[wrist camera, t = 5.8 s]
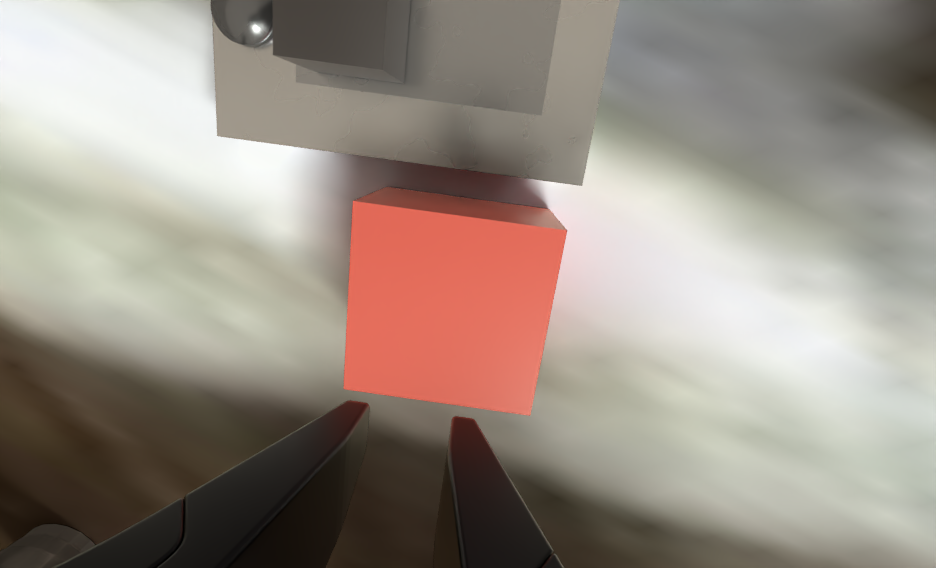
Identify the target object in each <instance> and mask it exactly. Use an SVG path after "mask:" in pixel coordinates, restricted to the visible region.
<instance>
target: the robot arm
mask: <svg viewBox="0 0 936 568" xmlns="http://www.w3.org/2000/svg"><path fill="white" fill-rule="evenodd" d="M369 413H370V407H369V405H368V404H367V403H363V402H357V401H346V402H344V403H342V404H340V405H339V406H337V407H335V408H334V409H332V410H330V411H329V412H327V413H325V414H323V415H322V416H320V417H318V418H317V419H315V420H313V421H311V422H310V423H308V424H306V425H305V426H303V427H301V428H299V429H298V430H296V431H294V432H293V433H291V434H289V435H288V436H286V437H284V438H282V439H281V440H279V441H277V442H276V443H274V444H272V445H270V446H269V447H267V448H265V449H264V450H262V451H260V452H258V453H257V454H255V455H253V456H252V457H250V458H248V459H247V460H245V461H243V462H241V463H240V464H238V465H236V466H235V467H233V468H231V469H229V470H228V471H226V472H224V473H223V474H221V475H219V476H217V477H216V478H214V479H212V480H211V481H209V482H207V483H206V484H204V485H202V486H200V487H199V488H197V489H195V490H194V491H192V492H190V493H188V494H187V495H186V496H185V497H184V499H182V498H180V499H178V500H176V501H174V502H173V503H171V504H169V505H168V506H166V507H164V508H162V509H161V510H159V511H157V512H156V513H154V514H152V515H150V516H148V517H147V518H145V519H143V520H141V521H140V522H138V523H136V524H134V525H132V526H131V527H129V528H127V529H125V530H124V531H122V532H120V533H118V534H116V535H115V536H113V537H111V538H109V539H107V540H105V541H103V542H101V543H99V544H97V545H95V546H93V547H91V548H89V549H88V550H86V551H84V552H82V553H80V554H78V555H76V556H74V557H72V558H70V559H68V560H66V561H64V562H62V563H60V564H58V565H56V566H54V567H52V568H325V567H326V565H327V563H328V560H329V558H330V556H331V553H332V551H333V549H334V546H335V544H336V542H337V539H338V537H339V534H340V532H341V529H342V526H343V523H344V520H345V517H346V513H347V510H348V507H349V504H350V500H351V497H352V494H353V490H354V487H355V484H356V481H357V477H358V474H359V471H360V467H361V464H362V461H363V458H364V454H365V450H366V446H367V438H368V425H369ZM433 568H564V567H563V565H562V564H561V562H560V560H559V559H558V557H557V555H556V554H553V549H552V547H551V546H550V544H549V542H548V541H547V539H546V537H545V536H544V534H543V532H542V531H541V529H540V527H539V526H538V524H537V522H536V521H535V519H534V517H533V516H532V514H531V512H530V511H529V509H528V507H527V506H526V504H525V502H524V501H523V499H522V497H521V496H520V494H519V492H518V491H517V489H516V488H515V486H514V484H513V483H512V481H511V479H510V478H509V476H508V474H507V473H506V471H505V469H504V468H503V466H502V464H501V463H500V461H499V459H498V458H497V456H496V454H495V453H494V451H493V449H492V448H491V446H490V444H489V443H488V441H487V439H486V438H485V436H484V434H483V433H482V431H481V429H480V428H479V426H478V424H477V423H476V421H475V420H474V419H472V418H465V417H458V416H455V417H453V418H452V422H451V429H450V436H449V442H448V449H447V456H446V463H445V470H444V477H443V484H442V491H441V498H440V505H439V512H438V519H437V526H436V533H435V542H434V561H433Z"/></svg>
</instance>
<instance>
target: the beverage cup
mask: <svg viewBox="0 0 936 568" xmlns="http://www.w3.org/2000/svg"><path fill="white" fill-rule="evenodd" d="M93 546H95V544H94V543H93V542H92V541H91V540H90V539H89V538H88V537H86V536H85V535H83V534H82V533H81V532H79V531H77V530H74V529H72V528H70V527H68V526H63V525H58V524H43V525H41V526H38V527H35V528H33V529H32V530H31V531H30V532H28V533H27V534H26V535H25V536H24V537H23V538H20V539H18V540H17V541H16V542H14V543H13V544H11V545H10V546H8V547H7V548H6V549H3V550H1V551H0V568H52V567H54V566H56V565H58V564H60V563H62V562H64V561H66V560H68V559H70V558H72V557H74V556H76V555H78V554H80V553H82V552H84V551H86V550H88V549H89V548H91V547H93Z"/></svg>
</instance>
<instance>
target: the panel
mask: <svg viewBox="0 0 936 568" xmlns="http://www.w3.org/2000/svg"><path fill="white" fill-rule="evenodd" d="M619 1H620V0H410V13H409V26H408V39H407V52H406V64H405V77H404V84H402V83H395V82H388V81H380V80H373V79H365V78H358V77H350V76H343V75H336V74H328V73H321V72H314V71H312V70H309V69H307V68H304V67H302V66H299V65H297V64H294V63H292V62H289V61H287V60H284V59H281V58H279V57H276V56H274V55H273V0H211V11H212V18H213V43H214V67H215V92H216V116H217V136H221V137H228V138H235V139H243V140H250V141H257V142H265V143H272V144H279V145H287V146H294V147H301V148H308V149H316V150H323V151H330V152H338V153H345V154H352V155H360V156H367V157H374V158H382V159H389V160H396V161H404V162H411V163H418V164H426V165H433V166H440V167H448V168H455V169H462V170H470V171H477V172H484V173H492V174H499V175H506V176H514V177H521V178H528V179H536V180H543V181H550V182H558V183H565V184H572V185H580V186H582V183H583V178H584V173H585V168H586V163H587V158H588V153H589V148H590V144H591V139H592V134H593V129H594V124H595V119H596V114H597V109H598V104H599V99H600V94H601V90H602V85H603V80H604V75H605V70H606V65H607V60H608V55H609V50H610V45H611V40H612V35H613V31H614V26H615V21H616V16H617V11H618V6H619Z"/></svg>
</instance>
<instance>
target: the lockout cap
mask: <svg viewBox="0 0 936 568" xmlns="http://www.w3.org/2000/svg"><path fill="white" fill-rule="evenodd" d="M566 233H567V230H566V229H565V227H564V226H563V225H562V224H561V223H560V221H559V220H558V219H557V218H556V217H555V216H554V214H553V213H552V212H551V211H550V210H549V209H546V208H538V207H531V206H524V205H516V204H509V203H502V202H494V201H487V200H480V199H473V198H465V197H458V196H451V195H443V194H436V193H429V192H422V191H414V190H407V189H400V188H392V187H385V188H382V189H380V190H378V191H375V192H373V193H371V194H368V195H366V196H364V197H361V198H359V199H356V200H354V201H353V208H352V229H351V249H350V269H349V289H348V309H347V329H346V350H345V370H344V389H346V390H353V391H360V392H367V393H374V394H381V395H388V396H395V397H403V398H410V399H417V400H424V401H431V402H438V403H445V404H452V405H459V406H466V407H473V408H480V409H487V410H494V411H501V412H508V413H515V414H522V415H529V416H530V414H531V409H532V404H533V399H534V394H535V389H536V384H537V379H538V374H539V369H540V364H541V359H542V354H543V349H544V344H545V339H546V334H547V329H548V324H549V319H550V314H551V309H552V304H553V299H554V294H555V289H556V284H557V279H558V274H559V269H560V264H561V258H562V253H563V248H564V243H565V238H566Z"/></svg>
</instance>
